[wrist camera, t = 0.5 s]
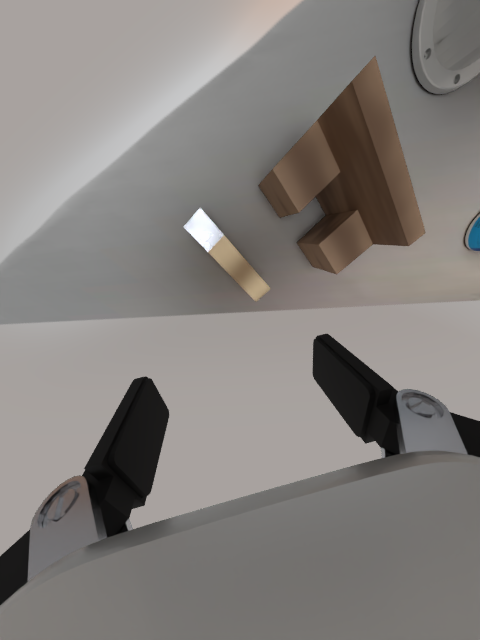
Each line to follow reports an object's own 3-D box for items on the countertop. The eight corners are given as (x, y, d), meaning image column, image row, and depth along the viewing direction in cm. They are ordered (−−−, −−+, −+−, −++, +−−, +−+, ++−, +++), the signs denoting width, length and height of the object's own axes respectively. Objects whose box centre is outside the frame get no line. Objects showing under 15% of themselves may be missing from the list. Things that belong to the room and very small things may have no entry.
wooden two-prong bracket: (302, 137, 23) (375, 55, 13) (350, 233, 30) (425, 232, 19) (258, 185, 25) (290, 148, 14) (312, 266, 32) (362, 282, 21)
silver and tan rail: (189, 228, 26) (183, 226, 21) (203, 213, 26) (200, 207, 20) (249, 290, 32) (255, 301, 27) (261, 279, 31) (270, 288, 26)
